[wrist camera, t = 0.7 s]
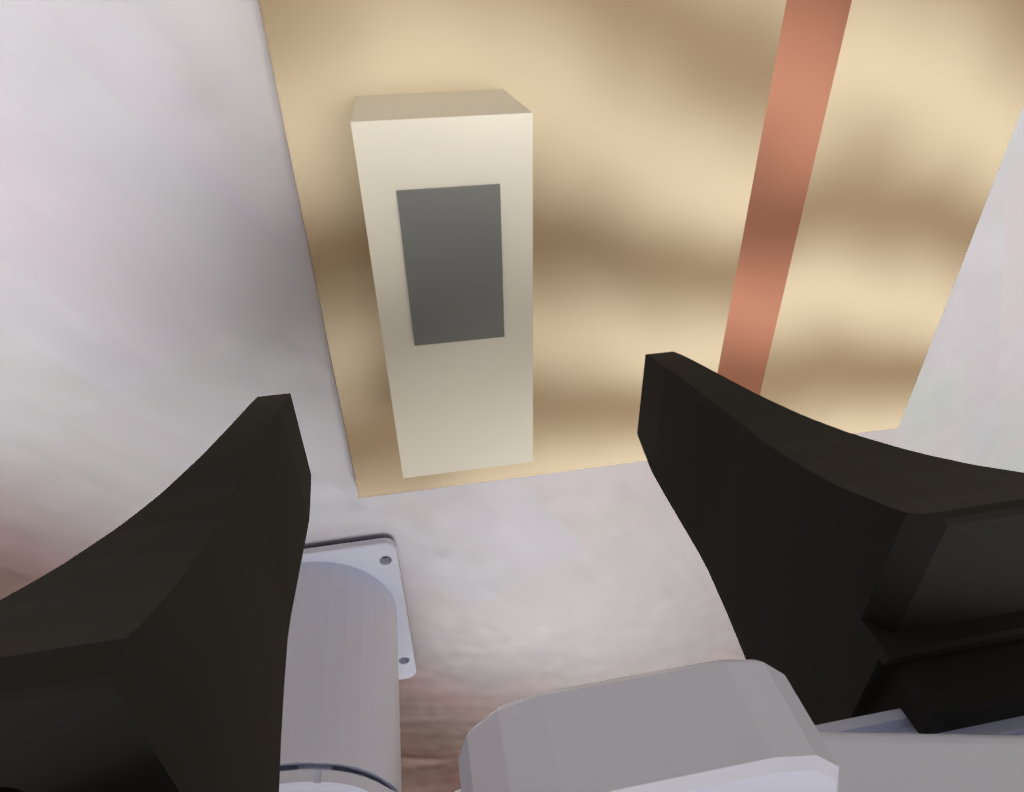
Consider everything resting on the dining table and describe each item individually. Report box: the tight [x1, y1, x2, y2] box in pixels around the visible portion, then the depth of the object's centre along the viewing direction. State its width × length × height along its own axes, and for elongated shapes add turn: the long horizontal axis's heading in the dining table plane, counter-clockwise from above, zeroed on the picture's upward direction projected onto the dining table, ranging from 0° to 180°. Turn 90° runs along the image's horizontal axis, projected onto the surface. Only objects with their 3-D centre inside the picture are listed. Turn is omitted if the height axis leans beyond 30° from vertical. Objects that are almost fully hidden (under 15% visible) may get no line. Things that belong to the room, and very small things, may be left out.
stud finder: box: [351, 89, 533, 478], centre depth 18 cm, size 10×4×4 cm, turn 1°
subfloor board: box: [259, 0, 1024, 498], centre depth 21 cm, size 18×23×1 cm
